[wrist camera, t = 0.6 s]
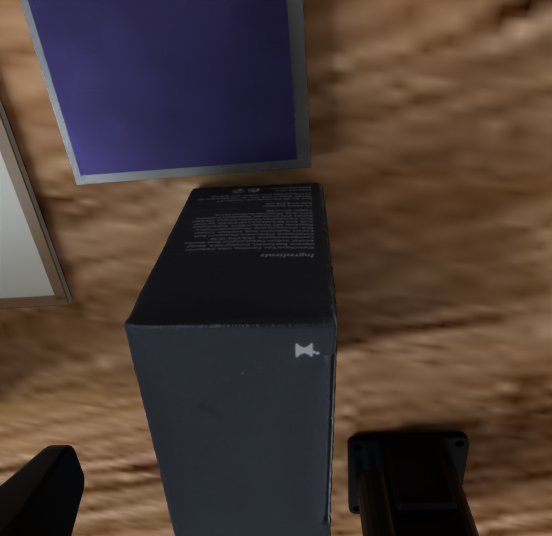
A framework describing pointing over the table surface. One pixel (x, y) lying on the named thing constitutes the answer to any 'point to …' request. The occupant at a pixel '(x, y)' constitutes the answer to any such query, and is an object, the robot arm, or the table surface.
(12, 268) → the card
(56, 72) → the ink pad
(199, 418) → the box
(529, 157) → the table surface
